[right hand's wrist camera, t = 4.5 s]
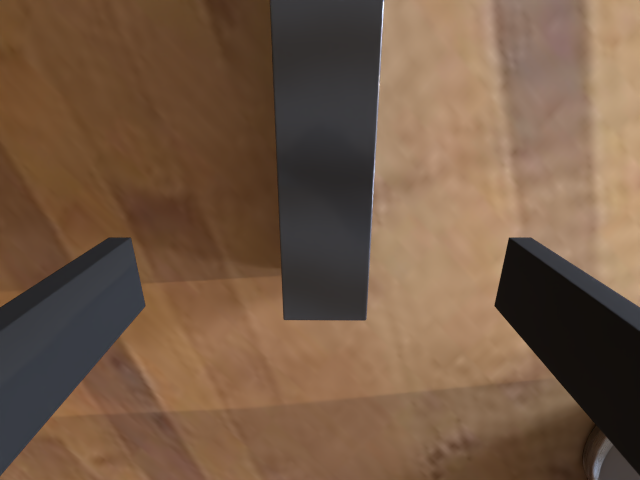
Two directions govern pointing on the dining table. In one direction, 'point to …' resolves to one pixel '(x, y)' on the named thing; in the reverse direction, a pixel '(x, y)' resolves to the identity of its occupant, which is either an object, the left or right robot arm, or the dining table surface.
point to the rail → (326, 151)
